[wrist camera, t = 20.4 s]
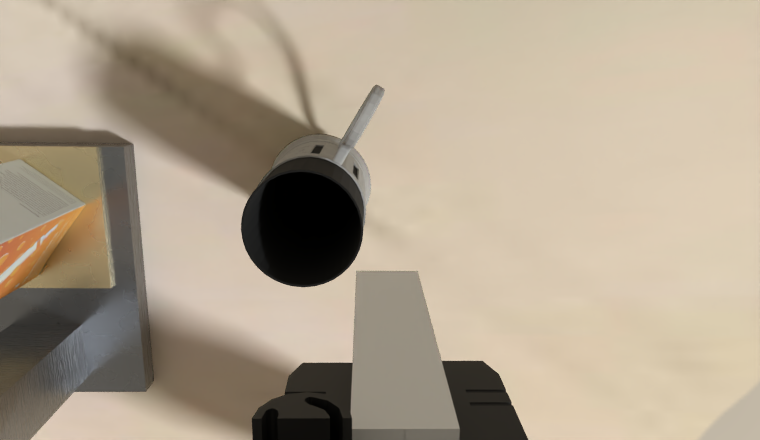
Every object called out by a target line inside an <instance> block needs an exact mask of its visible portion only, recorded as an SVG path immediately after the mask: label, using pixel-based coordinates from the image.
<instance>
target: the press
mask: <svg viewBox="0 0 760 440" xmlns="http://www.w3.org/2000/svg"><path fill="white" fill-rule="evenodd" d="M17 159H21V160H22V161H24V162H25V163H27V164H28V165H30V166H31V167H33V168H34V169H36V170H37V171H39V172H40V173H42V174H43V175H45V176H46V177H47V178H49V179H50V180H52V181H53V182H55V183H56V184H58V185H59V186H61V187H62V188H64V189H65V190H67V191H68V192H69V193H71V194H72V195H74V196H75V197H77V198H78V199H80V200H81V201H83V202H84V203H85V204H86V205H85V207H84V208H83V210H82V211H81V212H80V214H79V215H78V217H77V218H76V219H75V221H74V222H73V224H72V225H71V227H70V228H69V229H68V231H67V232H66V234H65V235H64V237H63V238H62V239H61V241H60V242H59V244H58V245H57V247H56V248H55V250H54V251H53V253H52V254H51V256H50V257H49V259H48V260H47V262H46V263H45V265H44V267H43V268H42V270H41V272H40V273H39V275H38V276H37V277H36V278H34V279H33V280H31V281H29V282H28V283H26V284H25V285H23V286H21V287H20V288H18V289H16V290H14V291H13V292H11V293H9V294H8V295H6V296H5V297H3V298H1V299H0V439H1V440H30V439H31V438H32V437H33V436H34V435H35V434H36V433H37V432H38V430H39V429H40V428H41V427H42V426H43V425H44V424H45V423H46V422H47V421H48V420H49V418H50V417H51V416H52V415H53V414H54V413H55V412H56V411H57V410H58V409H59V408H60V406H61V405H62V404H63V403H64V402H65V401H66V400H67V399H68V398H69V397H70V396H71V394H72V393H73V392H146V391H147V389H148V388H149V387H150V385H151V384H152V382H153V381H154V377H153V366H152V354H151V343H150V331H149V320H148V308H147V297H146V285H145V274H144V263H143V251H142V240H141V228H140V217H139V205H138V194H137V182H136V171H135V160H134V148H133V144H87V143H0V164H1V163H6V162H10V161H14V160H17Z"/></svg>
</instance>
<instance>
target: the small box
mask: <svg viewBox="0 0 760 440" xmlns="http://www.w3.org/2000/svg"><path fill="white" fill-rule="evenodd" d="M85 205H86V204H85V203H84V202H83V201H81V200H80V199H78V198H77V197H75V196H74V195H72V194H71V193H69V192H68V191H67V190H65V189H64V188H62V187H61V186H59V185H58V184H56V183H55V182H53V181H52V180H50V179H49V178H47V177H46V176H45V175H43V174H42V173H40V172H39V171H37V170H36V169H34V168H33V167H31V166H30V165H28V164H27V163H25V162H24V161H22V160H21V159H17V160H14V161H10V162H6V163H1V164H0V299H1V298H3V297H5V296H6V295H8V294H9V293H11V292H13V291H14V290H16V289H18V288H20V287H21V286H23V285H25V284H26V283H28V282H29V281H31V280H33V279H34V278H36V277H37V276H38V275H39V273H40V272H41V270H42V268H43V267H44V265H45V263H46V262H47V260H48V259H49V257H50V256H51V254H52V253H53V251H54V250H55V248H56V247H57V245H58V244H59V242H60V241H61V239H62V238H63V237H64V235H65V234H66V232H67V231H68V229H69V228H70V227H71V225H72V224H73V222H74V221H75V219H76V218H77V217H78V215H79V214H80V212H81V211H82V210H83V208H84V207H85Z"/></svg>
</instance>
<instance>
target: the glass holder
mask: <svg viewBox="0 0 760 440" xmlns="http://www.w3.org/2000/svg"><path fill="white" fill-rule="evenodd" d="M384 91H385V90H384V89H383V88H382V87H380V86H378V85H375V86H374V87H373V88H372V90H371V91H370V93H369V95H368V96H367V98H366V99H365V101H364V103H363V104H362V106H361V108H360V109H359V111H358V113H357V114H356V116H355V118H354V120H353V121H352V123H351V125H350V126H349V128H348V130H347V131H346V133H345V135H344V137H343V138H342V140H341V139H339V138H337V137H334V136H330V135H322V134H316V135H308V136H305V137H301V138H299V139H297V140H295V141H293V142H291V143H290V144H289V145H287V146H286V147H285V148H284V149H283V150H282V151H281V152H280V153H279V155H278V156H277V158H276V159H275V161H274V164H273V166H272V169H271V170H270V171H269V172H268V173H267V174H266V175H265V176H264V177H263V179H262V180H261V182H260V183H259V185H258V187H257V189H256V190H255V191H254V192H253V193H252V195H251V196H250V198H249V199H248V201H247V203H246V206H245V208H244V211H243V216H242V222H241V232H242V239H243V243H244V246H245V248H246V251H247V253H248V255H249V256H250V258H251V260H252V261H253V262H254V264H255V265H256V266H257V267H258V268H259V269H260V270H261V271H262V272H263V273H264V274H266V275H267V276H269V277H270V278H272V279H274V280H276V281H278V282H280V283H283V284H286V285H290V286H296V287H311V286H317V285H321V284H325V283H327V282H329V281H331V280H333V279H335V278H336V277H338V276H339V275H341V274H342V273H343V272H344V271H345V270H346V269H347V268H348V267H349V266H350V265H351V264H352V262H353V261H354V260H355V258H356V256H357V254H358V252H359V250H360V246H361V242H362V237H363V227H364V223H365V215H366V205H367V203H368V200H369V196H370V189H371V181H370V174H369V171H368V167H367V165H366V163H365V161H364V159H363V158H362V156H361V155H360V154H359V152H358V151H357V150H356V149H355V148H354V146H355V145H356V143H357V142H358V140H359V139H360V137H361V135H362V134H363V132H364V130H365V129H366V127H367V125H368V123H369V122H370V120H371V118H372V116H373V114H374V112H375V111H376V109H377V107H378V105H379V103H380V101H381V99H382V97H383V95H384Z"/></svg>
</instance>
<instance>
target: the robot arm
mask: <svg viewBox="0 0 760 440" xmlns="http://www.w3.org/2000/svg"><path fill="white" fill-rule="evenodd" d="M252 431H253V440H528V438H527V436H526V434H525V432H524V429H523V427H522V425H521V423H520V420H519V418H518V416H517V414H516V412H515V409H514V407H513V406H512V405H511V400H510V398H509V396H508V394H507V393H506V389H505V387H504V385H503V382H502V380H501V378H500V376H499V374H498V373H497V372H495V371H494V370H493V369H492V368H490V367H489V366H488V365H487V364H485V363H484V362H483V361H442V360H441V357H440V353H439V349H438V346H437V342H436V338H435V334H434V331H433V327H432V323H431V320H430V316H429V312H428V308H427V305H426V301H425V297H424V294H423V290H422V286H421V282H420V279H419V275H418V271H356V292H355V316H354V341H353V363H302V364H301V365H300V366H299V367H298V368H297V369H296V370H295V371H294V372H293V373H292V374H291V375H290V376H289V378H288V382H287V386H286V390H285V395H284V396H281V397H278V398H275V399H272V400H270V401H269V402H267V403H266V404H264V405H263V406H261V407H260V408H259V409H258V410H257V412H256V413H255V415H254V416H253V418H252Z"/></svg>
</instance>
